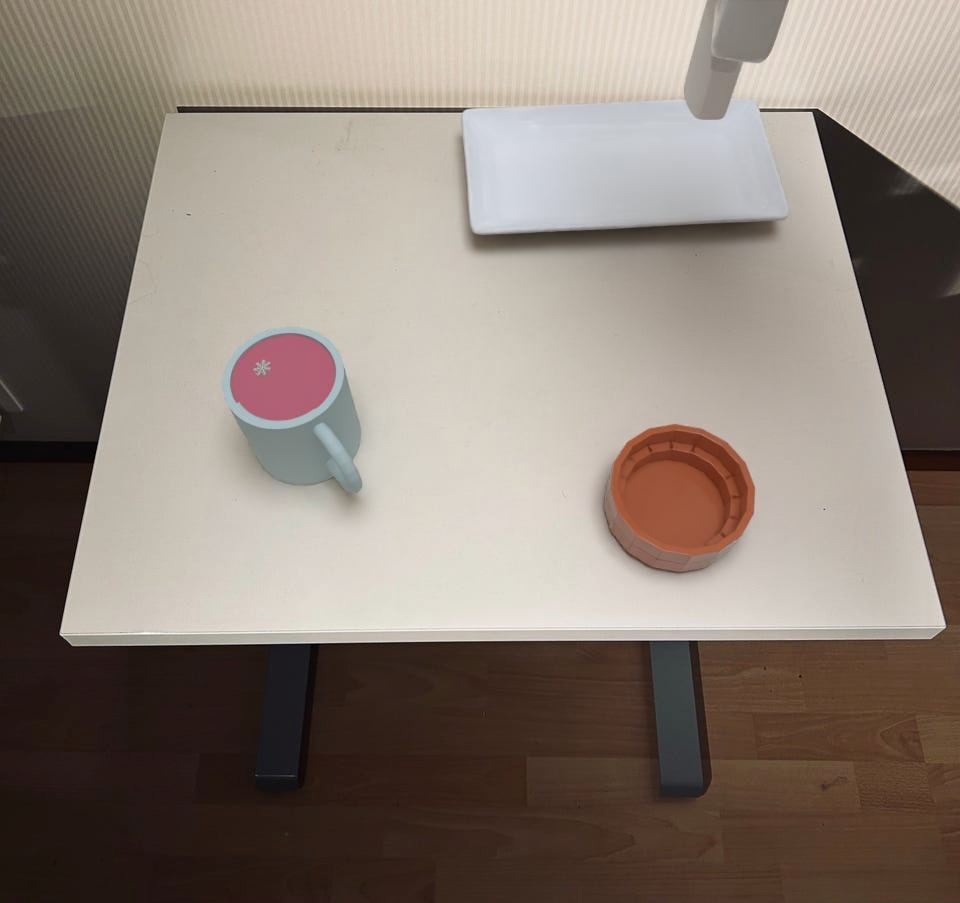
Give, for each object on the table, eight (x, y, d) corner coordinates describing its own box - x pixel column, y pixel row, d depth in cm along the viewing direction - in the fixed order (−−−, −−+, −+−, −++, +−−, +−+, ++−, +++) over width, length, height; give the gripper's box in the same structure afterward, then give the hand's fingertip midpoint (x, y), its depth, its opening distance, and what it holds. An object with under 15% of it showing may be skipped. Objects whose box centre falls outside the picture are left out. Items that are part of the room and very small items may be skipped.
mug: (235, 428, 70) (200, 366, 61) (324, 374, 73) (303, 307, 64) (318, 546, 65) (293, 497, 56) (411, 483, 68) (401, 427, 59)
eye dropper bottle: (743, 86, 64) (796, -68, 53) (717, 129, 62) (768, -22, 51) (692, 68, 65) (735, -87, 54) (665, 110, 63) (704, -42, 52)
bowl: (741, 462, 69) (757, 438, 65) (734, 585, 64) (751, 567, 60) (612, 439, 70) (620, 414, 66) (595, 559, 65) (602, 539, 61)
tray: (782, 240, 80) (795, 215, 77) (469, 255, 79) (469, 230, 76) (746, 121, 88) (756, 94, 84) (460, 134, 87) (460, 107, 83)
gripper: (848, -74, 41) (763, 139, 54) (845, -263, 50) (772, -44, 63) (726, -88, 42) (669, 126, 54) (744, -273, 51) (692, -53, 63)
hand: (724, 34), depth 59 cm, fingers closed on eye dropper bottle, 5 cm apart
